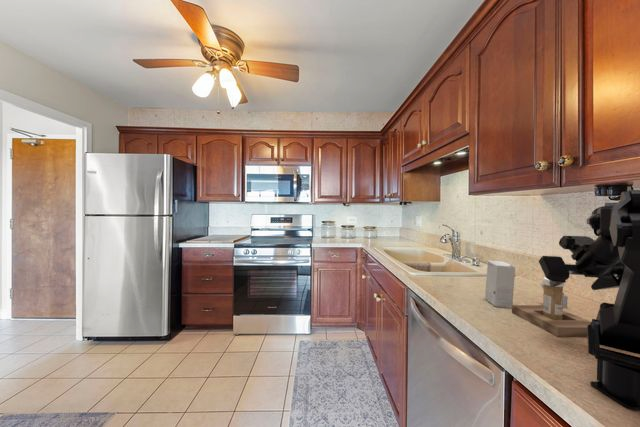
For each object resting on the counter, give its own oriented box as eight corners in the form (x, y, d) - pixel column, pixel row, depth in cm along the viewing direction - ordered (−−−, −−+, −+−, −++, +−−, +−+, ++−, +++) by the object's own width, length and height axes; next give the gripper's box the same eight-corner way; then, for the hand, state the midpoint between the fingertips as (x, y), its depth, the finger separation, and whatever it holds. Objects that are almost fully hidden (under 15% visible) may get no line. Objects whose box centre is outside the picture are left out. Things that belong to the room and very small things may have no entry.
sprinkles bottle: (565, 328, 74) (565, 281, 73) (544, 324, 76) (545, 279, 76) (560, 322, 78) (561, 278, 77) (540, 319, 80) (541, 275, 80)
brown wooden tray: (605, 336, 69) (605, 327, 69) (557, 336, 69) (557, 327, 69) (550, 312, 85) (550, 305, 85) (511, 312, 85) (511, 305, 85)
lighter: (565, 307, 90) (565, 284, 90) (567, 308, 89) (568, 285, 89) (539, 303, 93) (540, 281, 93) (541, 305, 92) (541, 282, 92)
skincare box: (484, 299, 97) (485, 259, 97) (502, 300, 96) (503, 260, 96) (494, 307, 89) (496, 264, 89) (514, 308, 88) (515, 265, 88)
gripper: (636, 227, 62) (598, 264, 73) (543, 224, 67) (521, 259, 77) (669, 266, 54) (622, 301, 65) (562, 261, 59) (534, 294, 70)
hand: (571, 286), depth 70 cm, fingers open, 9 cm apart
